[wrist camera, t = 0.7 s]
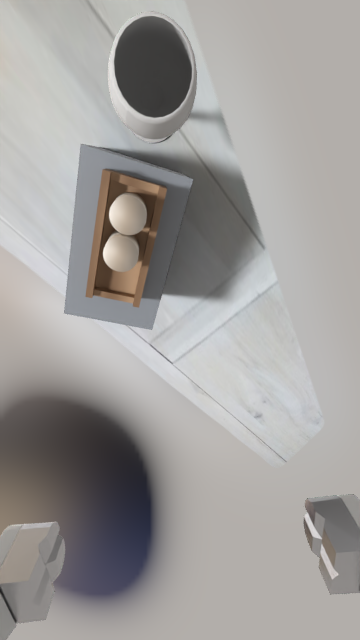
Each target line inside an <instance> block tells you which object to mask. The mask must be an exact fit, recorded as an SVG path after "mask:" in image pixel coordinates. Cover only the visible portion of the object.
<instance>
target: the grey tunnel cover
mask: <svg viewBox="0 0 360 640" xmlns="http://www.w3.org/2000/svg"><path fill="white" fill-rule="evenodd" d="M102 169H110V170H113V171H116V172H120V173H123V174H126V175H130V176H133V177H136V178H139V179H143V180H146V181H149V182H153V183H156V184H159V185H163V186H166V188H167V192H166V196H165V200H164V204H163V209H162V213H161V217H160V221H159V225H158V230H157V234H156V238H155V242H154V247H153V251H152V255H151V259H150V263H149V268H148V272H147V276H146V280H145V284H144V289H143V293H142V297H141V301H140V305H139V308H138V307H133V303H128V302H123V301H118V300H113V299H108V298H103V297H98V296H94V295H93V297H92V298H88V297H85V295H86V288H87V281H88V273H89V266H90V258H91V251H92V243H93V236H94V228H95V221H96V214H97V206H98V199H99V191H100V184H101V176H102ZM192 182H193V179H192V178H190V177H188V176H186V175H184V174H182V173H179V172H176V171H173V170H169V169H166V168H163V167H160V166H157V165H154V164H151V163H147V162H144V161H141V160H138V159H135V158H132V157H128V156H125V155H122V154H119V153H116V152H113V151H109V150H106V149H103V148H100V147H95V146H90V145H84V144H81V147H80V157H79V168H78V178H77V188H76V198H75V208H74V218H73V229H72V239H71V249H70V259H69V269H68V279H67V290H66V300H65V310H64V313H65V314H71V315H76V316H82V317H87V318H92V319H97V320H102V321H108V322H113V323H118V324H124V325H129V326H134V327H140V328H145V329H150V330H152V329H153V325H154V321H155V318H156V314H157V310H158V307H159V303H160V299H161V296H162V292H163V288H164V285H165V281H166V277H167V274H168V270H169V266H170V263H171V259H172V255H173V252H174V248H175V244H176V241H177V237H178V233H179V230H180V226H181V222H182V219H183V215H184V211H185V208H186V204H187V201H188V197H189V193H190V190H191V186H192Z"/></svg>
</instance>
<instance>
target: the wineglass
mask: <svg viewBox="0 0 360 640" xmlns="http://www.w3.org/2000/svg"><path fill="white" fill-rule="evenodd" d="M108 83H109V93H110V96H111V100H112V103H113V106H114V108H115V110H116V112H117V114H118V116H119V118H120V119H121V120H122V121H123V123H124V124H125V125H126V126H127V127H128V128H129V129H130V130H131V131H132V132H133V133H134V135H135V136H137V137H138V138H139V139H141V140H143V141H145V142H149V143H157V142H160V141H163V140H165V139H166V138H167V137H168V136H170V135H172V134H173V133H175V132H176V131H177V130H178V129H180V128H181V127H182V125H183V124H184V123H185V121H186V120H187V119H188V117H189V114H190V112H191V110H192V107H193V103H194V99H195V95H196V84H197V71H196V64H195V57H194V53H193V50H192V47H191V45H190V42H189V40H188V38H187V36H186V35H185V33H184V31H183V30H182V28H181V27H180V26H179V25H178V24H177V23H176V22H175V21H174V20H173V19H171V18H169V17H168V16H166V15H164V14H162V13H158V12H154V11H150V12H141V13H139V14H137V15H135V16H133V17H131V18H130V19H129V20H128V21H127V22H126V23H125V24H124V25H123V26H122V27H121V29H120V31H119V32H118V34H117V35H116V37H115V40H114V43H113V46H112V49H111V52H110V56H109V65H108Z"/></svg>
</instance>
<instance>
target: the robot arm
mask: <svg viewBox="0 0 360 640" xmlns="http://www.w3.org/2000/svg"><path fill="white" fill-rule="evenodd" d="M305 508H306V510H307V513H306V515H305V516H304V529H305V534H306V537H307V540H308V543H309V545H310V548H311V550H312V551H313V552H314V553H315V554H316V555H317V556H318V557H319V558H320V561H319V569H320V571H321V574H322V576H323V579H324V581H325V583H326V586H327V588H328V590H329V593H330V594H347V593H360V500H359V499H358V497H357V496H355V495H354V494H348V495H340V496H337V495H333V496H325V497H315V498H307V499H306V501H305ZM59 529H60V528H59V525H58V523H57V522H47V523H33V524H19V525H9V526H8V527H7V528H6V529H5V530H4V531H3V533H2V535H1V536H0V640H6V639H7V638H8V636H9V635H10V634H11V633H12V631H13V630H14V628H15V627H16V623H25V622H32V621H40V620H46V617H47V614H48V611H49V607H50V604H51V601H52V598H53V595H54V592H55V591H54V587H53V582H54V580H55V579H56V578H57V577H58V576H59V574H60V573H61V570H62V566H63V563H64V556H65V543H64V540H63V538H62V537H61V536H59V535H58V532H59Z"/></svg>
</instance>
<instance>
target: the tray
mask: <svg viewBox="0 0 360 640" xmlns="http://www.w3.org/2000/svg"><path fill="white" fill-rule="evenodd" d="M166 192H167V188H166V186H163V185H159V184H156V183H153V182H149V181H146V180H143V179H139V178H136V177H133V176H130V175H126V174H123V173H120V172H116V171H113V170H110V169H102V176H101V184H100V191H99V199H98V206H97V214H96V221H95V228H94V236H93V243H92V251H91V258H90V266H89V273H88V281H87V288H86V295H85V297H88V298H92V297H93V295H94V296H98V297H103V298H108V299H113V300H118V301H123V302H128V303H133V307H138V308H139V305H140V301H141V297H142V293H143V289H144V284H145V280H146V276H147V272H148V268H149V263H150V259H151V255H152V251H153V247H154V242H155V238H156V234H157V230H158V225H159V221H160V217H161V213H162V209H163V204H164V200H165V196H166Z"/></svg>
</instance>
